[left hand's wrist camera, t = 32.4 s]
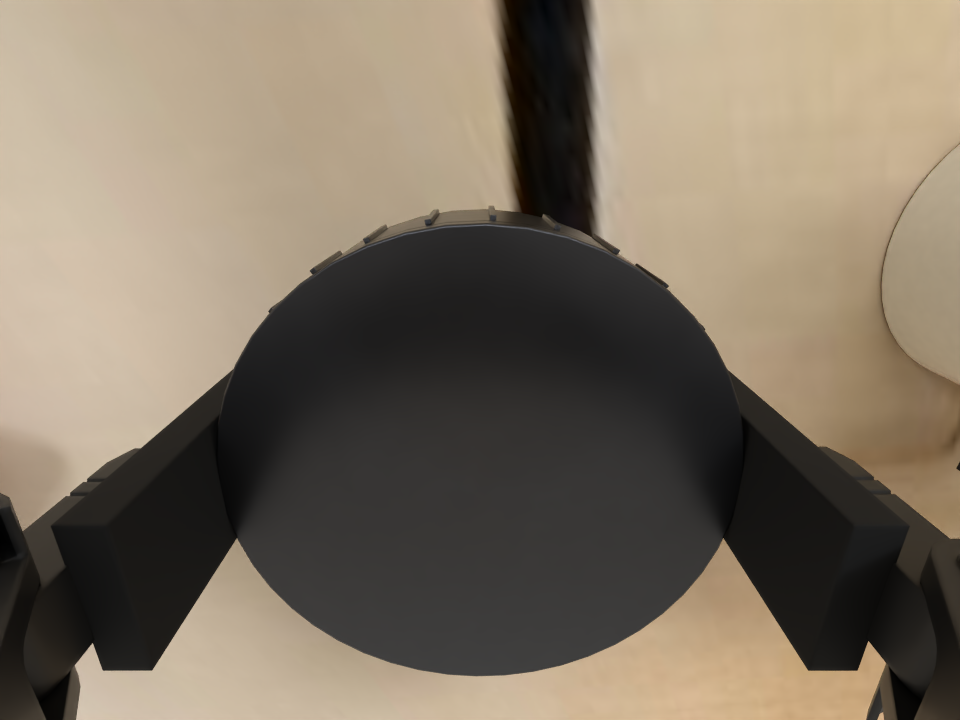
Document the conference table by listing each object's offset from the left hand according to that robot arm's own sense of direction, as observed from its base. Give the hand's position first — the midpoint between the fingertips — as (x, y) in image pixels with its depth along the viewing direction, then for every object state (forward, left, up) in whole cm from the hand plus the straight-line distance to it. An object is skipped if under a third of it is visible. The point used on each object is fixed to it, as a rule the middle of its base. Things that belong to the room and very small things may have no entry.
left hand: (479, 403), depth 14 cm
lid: (0, 0, +3) cm, 3 cm away
